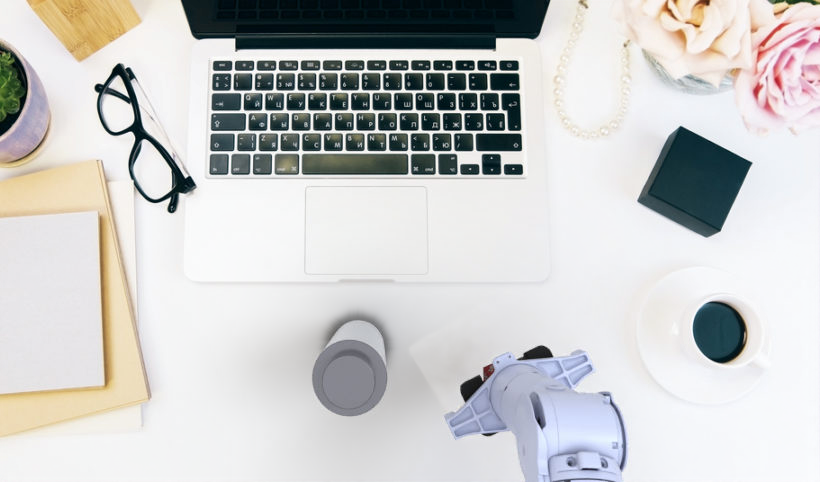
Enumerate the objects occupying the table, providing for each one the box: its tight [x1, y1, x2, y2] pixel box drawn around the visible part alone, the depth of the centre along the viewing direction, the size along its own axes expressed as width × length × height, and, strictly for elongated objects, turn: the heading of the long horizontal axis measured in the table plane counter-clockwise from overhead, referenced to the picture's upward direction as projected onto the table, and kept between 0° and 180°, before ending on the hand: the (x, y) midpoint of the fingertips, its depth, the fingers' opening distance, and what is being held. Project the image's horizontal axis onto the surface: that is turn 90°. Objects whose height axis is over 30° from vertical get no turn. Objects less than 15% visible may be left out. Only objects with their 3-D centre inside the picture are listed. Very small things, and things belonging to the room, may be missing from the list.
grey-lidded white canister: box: [311, 319, 388, 417], centre depth 60 cm, size 6×6×24 cm
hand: (500, 378), depth 63 cm, fingers closed on dice, 4 cm apart
